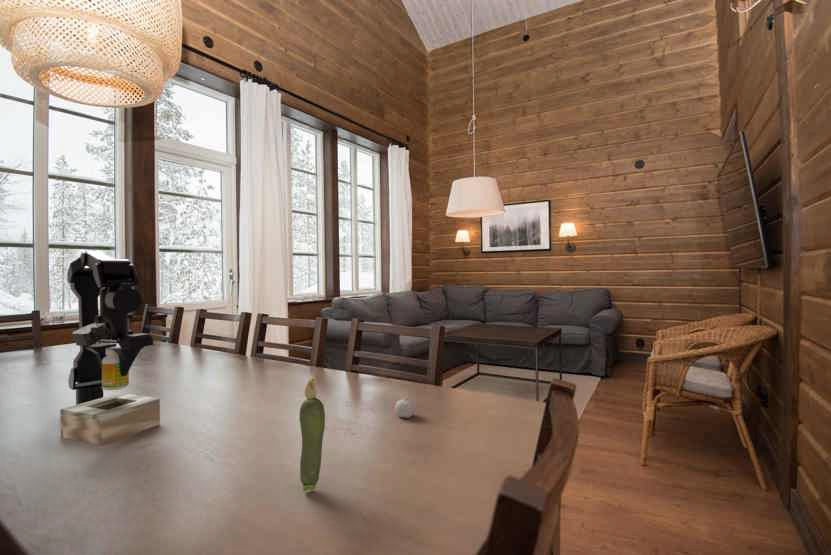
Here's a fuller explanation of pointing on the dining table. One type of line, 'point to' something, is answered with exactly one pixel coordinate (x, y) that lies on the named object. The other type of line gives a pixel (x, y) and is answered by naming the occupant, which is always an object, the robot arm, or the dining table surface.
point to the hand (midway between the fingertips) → (115, 374)
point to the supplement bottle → (113, 371)
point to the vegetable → (311, 437)
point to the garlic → (405, 408)
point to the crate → (109, 418)
